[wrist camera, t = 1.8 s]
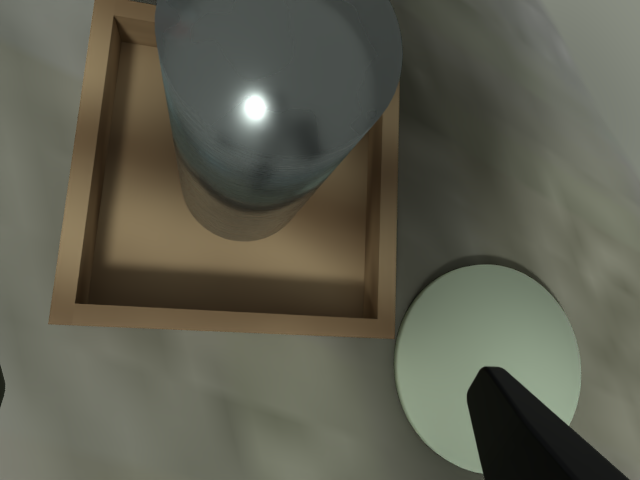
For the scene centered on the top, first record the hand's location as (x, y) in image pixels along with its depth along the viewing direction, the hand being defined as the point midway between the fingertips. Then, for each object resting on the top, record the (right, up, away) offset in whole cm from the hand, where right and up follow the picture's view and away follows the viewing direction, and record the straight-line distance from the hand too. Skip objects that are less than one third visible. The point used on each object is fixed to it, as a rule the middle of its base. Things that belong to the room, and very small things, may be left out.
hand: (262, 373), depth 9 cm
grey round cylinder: (-2, +5, +13) cm, 14 cm away
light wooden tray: (-3, +5, +14) cm, 15 cm away
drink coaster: (+9, -4, +15) cm, 18 cm away
